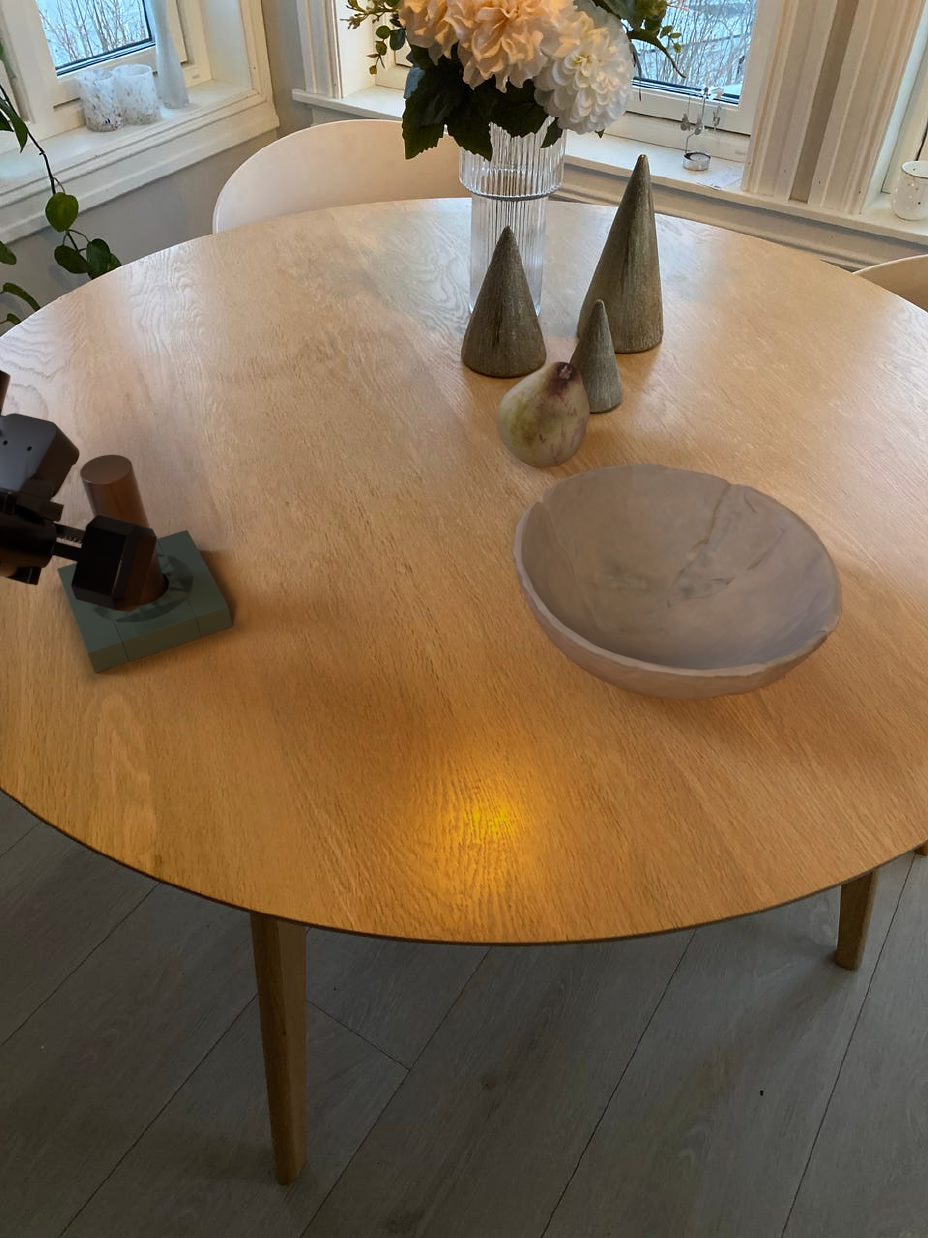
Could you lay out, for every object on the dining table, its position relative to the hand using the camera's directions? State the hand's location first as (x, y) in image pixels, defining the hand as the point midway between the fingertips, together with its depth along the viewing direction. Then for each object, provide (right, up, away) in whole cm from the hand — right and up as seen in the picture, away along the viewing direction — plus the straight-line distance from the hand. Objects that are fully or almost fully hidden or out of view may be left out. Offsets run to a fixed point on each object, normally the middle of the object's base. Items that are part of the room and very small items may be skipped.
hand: (99, 555), depth 78 cm
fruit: (+38, +13, +27) cm, 48 cm away
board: (+1, -4, +8) cm, 9 cm away
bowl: (+46, -7, +6) cm, 47 cm away
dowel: (+1, -4, +9) cm, 10 cm away
